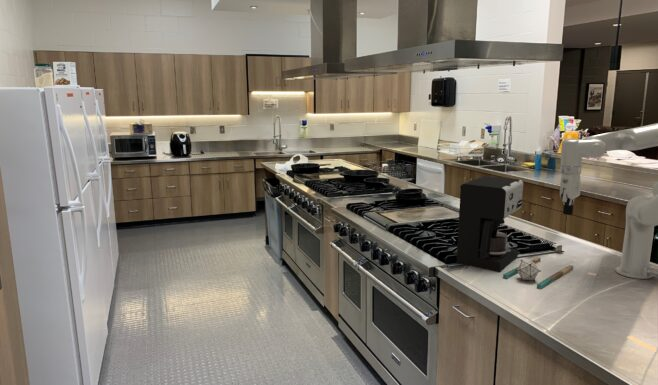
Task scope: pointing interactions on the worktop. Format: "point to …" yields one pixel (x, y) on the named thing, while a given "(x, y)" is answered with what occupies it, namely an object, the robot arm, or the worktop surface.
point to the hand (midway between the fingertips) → (567, 214)
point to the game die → (527, 270)
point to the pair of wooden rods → (546, 281)
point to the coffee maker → (487, 221)
